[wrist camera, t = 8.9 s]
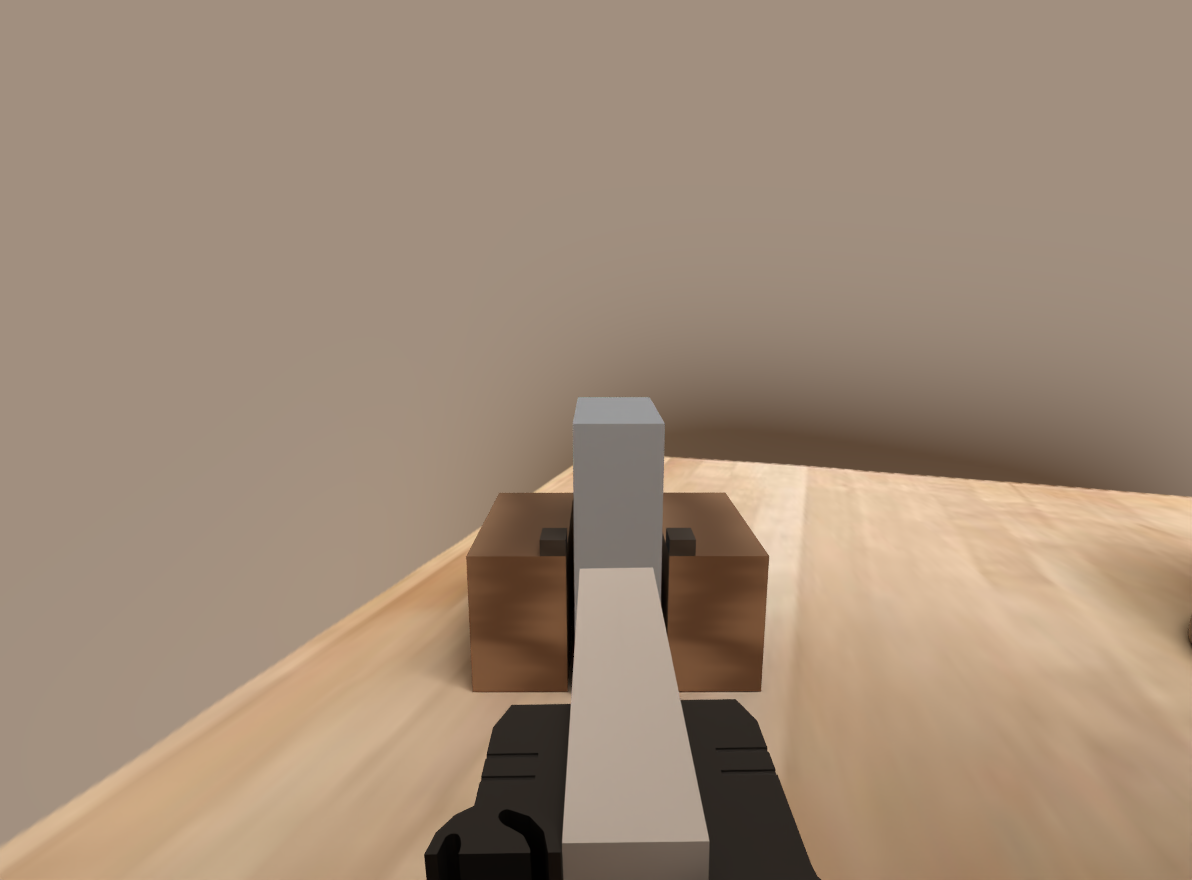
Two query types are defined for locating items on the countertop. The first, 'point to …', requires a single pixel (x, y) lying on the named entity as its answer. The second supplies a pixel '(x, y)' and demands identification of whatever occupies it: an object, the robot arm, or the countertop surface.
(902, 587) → the countertop surface
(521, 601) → the socket block
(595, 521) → the peg
